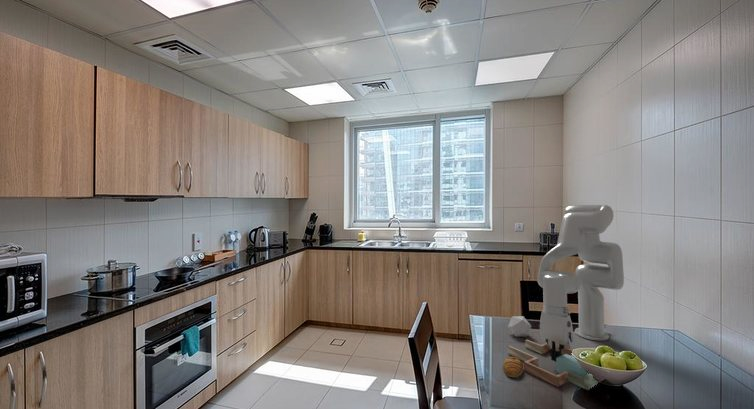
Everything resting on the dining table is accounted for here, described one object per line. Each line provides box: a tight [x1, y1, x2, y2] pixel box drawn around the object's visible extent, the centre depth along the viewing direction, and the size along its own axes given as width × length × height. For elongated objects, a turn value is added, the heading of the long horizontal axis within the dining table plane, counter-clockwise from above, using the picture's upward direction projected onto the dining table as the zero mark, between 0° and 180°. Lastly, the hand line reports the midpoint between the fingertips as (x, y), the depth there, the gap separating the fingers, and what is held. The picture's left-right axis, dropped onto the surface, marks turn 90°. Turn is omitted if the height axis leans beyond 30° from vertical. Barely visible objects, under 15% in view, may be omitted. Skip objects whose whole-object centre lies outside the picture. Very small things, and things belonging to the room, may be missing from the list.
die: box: [507, 315, 532, 338], centre depth 141 cm, size 8×9×10 cm
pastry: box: [502, 356, 524, 378], centre depth 110 cm, size 9×7×4 cm
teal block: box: [555, 354, 587, 377], centre depth 108 cm, size 6×8×5 cm
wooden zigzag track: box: [507, 339, 599, 391], centre depth 114 cm, size 24×29×4 cm
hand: (556, 360), depth 113 cm, fingers closed
